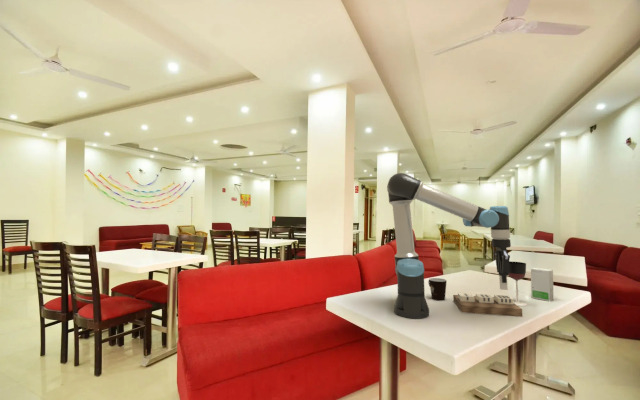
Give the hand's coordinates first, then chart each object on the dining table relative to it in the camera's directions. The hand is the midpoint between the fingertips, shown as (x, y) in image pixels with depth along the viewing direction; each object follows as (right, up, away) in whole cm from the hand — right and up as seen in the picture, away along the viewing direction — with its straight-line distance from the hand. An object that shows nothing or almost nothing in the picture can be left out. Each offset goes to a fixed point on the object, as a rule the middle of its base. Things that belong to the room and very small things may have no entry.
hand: (503, 289), depth 133 cm
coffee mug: (-23, -11, +19) cm, 32 cm away
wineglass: (+12, -10, +9) cm, 18 cm away
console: (-8, -9, +1) cm, 12 cm away
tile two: (-8, -6, +2) cm, 10 cm away
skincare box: (+31, -10, +16) cm, 36 cm away
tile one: (-16, -6, +4) cm, 17 cm away
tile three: (0, -6, 0) cm, 6 cm away
